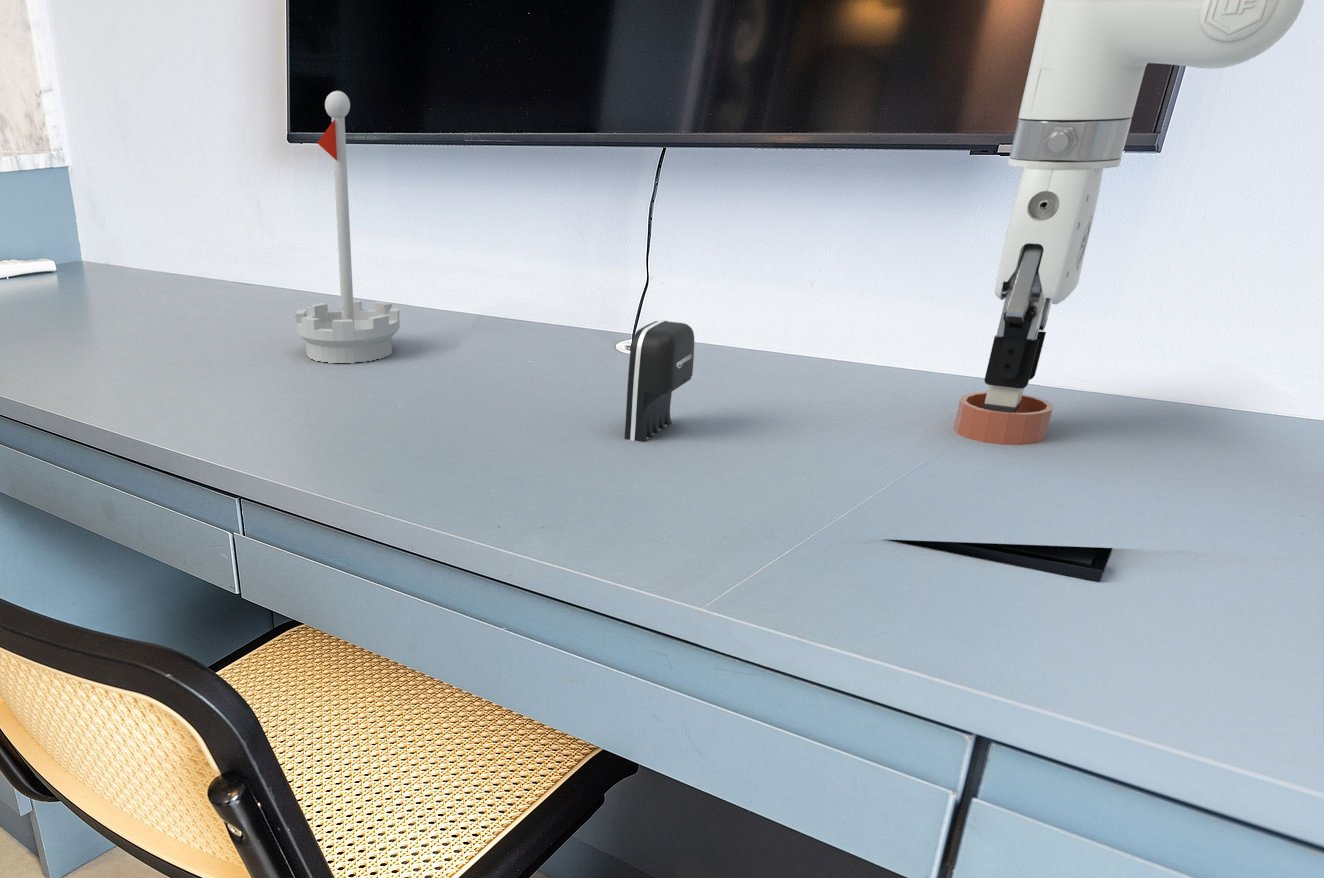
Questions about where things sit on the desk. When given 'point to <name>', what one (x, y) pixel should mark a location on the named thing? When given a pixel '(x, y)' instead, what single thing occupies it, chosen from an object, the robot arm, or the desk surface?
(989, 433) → the bangle ring
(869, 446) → the desk surface
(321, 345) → the flag stand
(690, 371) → the battery charger
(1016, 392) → the grey piece
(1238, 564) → the desk surface
